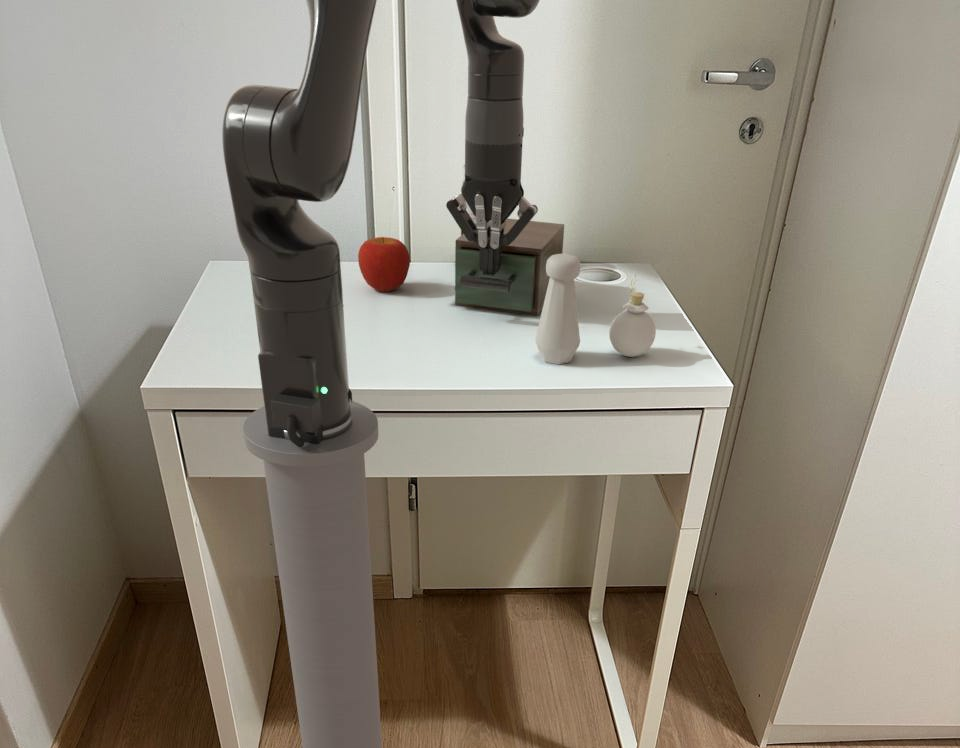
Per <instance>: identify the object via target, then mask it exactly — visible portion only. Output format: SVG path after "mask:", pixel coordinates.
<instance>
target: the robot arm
mask: <svg viewBox="0 0 960 748" xmlns="http://www.w3.org/2000/svg"><path fill="white" fill-rule="evenodd" d="M540 1H541V0H455V3H456V7H457V10H458V11H457V12H458V16H459V20H460V26H461V30H462V34H463V35H462V36H463V40H464V45H465V50H466V56H467V99H466V101H467V102H466V108H465V121H464V123H465V124H464V128H465V129H464V130H465V131H464V137H465V138H464V164H465V180H464V183H463V185H462V184H461V188H460V191H461V192H460V193H459V194H458V195H456V196H453V197H452V198H450V200H448V201H447V202H446V204H445V205H446V209H447V210H448V212H449V214H450V215H451V217H452V218H453V220H454V221H455V222H456V225H457V226H458V228H459V229H460V231H461V230H462V232H463V234H464V235H465V237H466V238H467V240H468V241H473V242H475V243H477V244H478V245H479V249H480V250H479V267H480V270H483V275H489V276H494V275H495V274H496V272H497V271H498V270H499V269H500V267H501V254H502V246H504V245H510V244H511V243H512V242H513V241H514V240H515V239H516V237H517V236H518V235H519V234H520V233H521V231H522V230H523V229H524V228H525V226H526V225H527V224H528V223H529V222H530V221H532V219H533V218H534V217H535V216H536V214H537V213H538V211H539V207H538V205H536V204H531V203H530V201H528V200H527V198H525V191H524V187H523V185H522V166H523V165H522V161H523V139H524V134H525V133H524V132H525V128H524V106H523V105H524V104H523V103H524V102H523V99H524V98H523V95H524V94H523V93H524V75H525V74H524V73H525V72H524V71H525V53H524V50H523V48H522V46H521V45H520V44H519V43H517V42H515V41H512V40H510V39H508V38H505V37H503V36H502V35H501V34H500V33H499V30H498V28H497V26H496V20H495V17H497V18H498V17H499V18H510V19H521V18H525V17H528V16H529V15H530V14H532V13H533V12H534V11H535V10H536V8H537V7H538V5H539V3H540ZM305 2H306V5H307V10H308V16H309V25H310V26H309V27H310V29H309V30H310V31H309V34H310V35H309V44H308V49H307V57H306V63H305V67H304V72H303V76H302V80H301V82H300V85H299V87H298V88H294V87H293V88H292V87H283V86H275V85H273V86H272V85H263V84H247V85H244V86H242V87H240V88H238V89H236V90H235V91H234V93H233V94H232V95H231V96H230V98H229V100H228V102H227V104H226V108H225V110H224V113H223V118H222V127H221V128H222V129H221V134H222V136H221V137H222V139H221V141H222V143H221V144H222V153H223V160H224V168H225V173H226V177H227V183H228V189H229V194H230V199H231V204H232V205H231V206H232V210H233V214H234V215H233V216H234V222H235V227H236V232H237V236H238V239H239V241H240V244H241V246H242V249H243V250H244V251H245V254H246V257H247V261H248V267H249V274H250V281H251V289H252V296H253V307H254V314H255V320H256V329H257V335H258V336H257V338H258V345H259V353H258V355H257V359H258V368H259V375H260V383H261V390H262V398H263V404H264V405H263V406H265V414H266V421H267V429H268V436H270V437H276V438H282V439H288V440H291V442H292V443H294V444H295V445H297V446H298V447H303V446H304V442H306V443H312V444H319V443H321V442H322V441H323V440H326V439H330V438H333V437H336V436H339V435H341V434H343V433H344V432H346V431H347V430H348V429H349V428H350V427H351V425H352V412H351V410H350V401H351V402H352V401H353V393H352V392H353V391H352V390H351V389H350V385H349V383H350V382H349V369H348V355H347V354H348V353H347V341H346V339H347V338H346V326H345V312H344V311H345V310H344V298H343V295H344V294H343V281H342V280H343V279H342V269H341V267H342V266H341V252H340V247H339V242H338V240H337V238H336V237H335V236H334V235H333V234H331V232H330V231H328V230H326V229H325V228H323V227H322V226H320V225H319V224H318V223H316V222H315V221H314V220H313V219H312V218H311V217H310V216H309V215H308V214H307V213H306V212H305V210H304V209H303V207H302V206H301V204H300V202H299V201H305V202H314V203H324V202H326V201H329V200H331V199H332V198H333V197H335V196H336V194H337V193H338V192H339V190H340V189H341V186H342V185H343V183H344V181H345V178H346V175H347V172H348V170H349V169H348V168H349V165H350V161H351V157H352V153H353V147H354V142H355V141H354V140H355V134H356V128H357V121H358V114H359V105H360V101H361V100H360V99H361V92H362V85H363V76H364V70H365V63H366V58H367V57H366V56H367V50H368V46H369V41H370V35H371V30H372V25H373V20H374V15H375V11H376V6H377V2H378V0H305ZM466 202H467V204H468V206H469V207H470V209H471V211H472V212H473V214H474V216H475V217H476V222H477V226H476V225H475V223H474V222H473V220H472V218H471V217H470V215H469V214H468V212H467V210H466V208H467V204H466ZM517 207H518V210H517V212H516V214H517V217H518V219H517V220H518V221H517V222H516V223H515V224H514V226H513V227H512V228H511V229H510V231H509V232H508V233H506V234H504V230H505V226H506V219H509V218H510V216H511V215H512V214H513V212H514V211H515V209H516V208H517Z"/></svg>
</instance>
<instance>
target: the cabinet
mask: <svg viewBox="0 0 960 748" xmlns="http://www.w3.org/2000/svg"><path fill="white" fill-rule="evenodd" d="M517 221H518V219H515V218H507V219H506V226H505V230H504V234H506V233H508V232H509V231H510V229H511V228H512V227H513V226H514V224H515V223H516V222H517ZM475 225H476V226H477V223H476V224H475ZM564 237H565V224H564V223H555V222H544V221H535V220H530V222H529V223H528V224H527V225H526V226H525V228H524V229H523V230H522V231H521V233H520V234H519V235H518V236H517V237H516V239H515V240H514V241H513V242H512V243H511V244H510V245H504V246H502V252H511V253H520V254H529V255H535V257H536V262H535V279H534V296H533V310H532V311H531V312H527V311H519V310H511V309H503V308H495V307H487V306H479V305H471V304H463V303H456V302H455V301H454V305H455V306H459V307H467V308H475V309H484V310H491V311H499V312H506V313H515V314H524V315H530V316H531V315H532V316H538V315H539V314H540V312H542V309H543V305H544V301H545V296H546V292H547V288H548V283H549V279H550V276H548V275H547V273H546V263H547V260H548V259H549V258H550V257H551V256H552V255H555V254H563V252H564V251H563V250H564ZM458 248H459V249H467V248H475V249H479V245H478V244H477V243H475V242H473V241H468V240H467V238H466V237H465V235H464V234H463V235H461V234H460V236H459V237H458V238H456V239H455V251H454V252H455V253H454V257H455V260H454V262H455V263H454V264H455V266H454V283H455V284H454V289H455V288H456V250H457V249H458Z"/></svg>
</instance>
